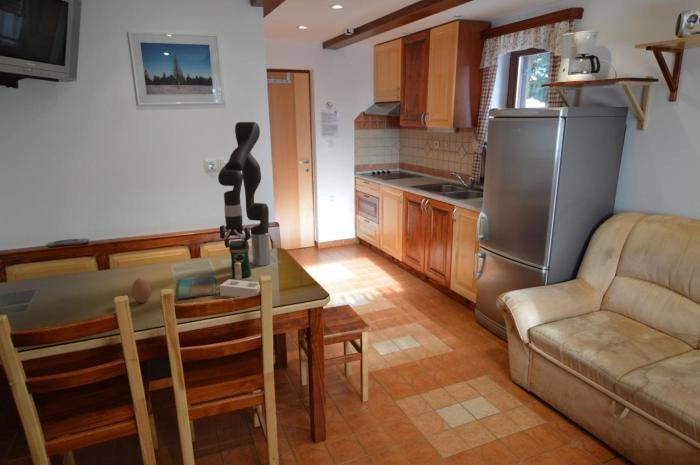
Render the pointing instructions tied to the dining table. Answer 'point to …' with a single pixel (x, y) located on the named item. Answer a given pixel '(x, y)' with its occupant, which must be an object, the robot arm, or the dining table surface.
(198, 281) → the book
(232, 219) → the robot arm
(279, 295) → the dining table surface
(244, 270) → the coffee jar
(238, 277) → the peg
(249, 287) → the block
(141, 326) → the dining table surface
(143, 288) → the egg
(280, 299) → the dining table surface
